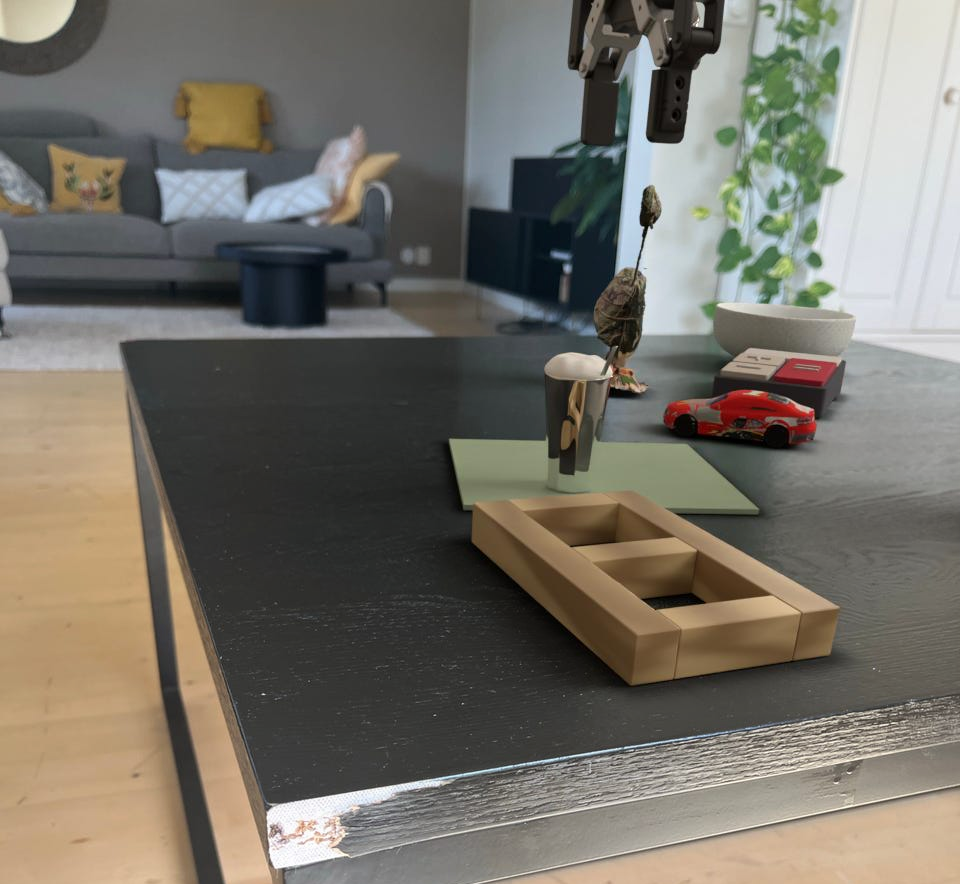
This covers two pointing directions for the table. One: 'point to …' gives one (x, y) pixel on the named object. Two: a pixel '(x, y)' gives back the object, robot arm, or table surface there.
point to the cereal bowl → (782, 328)
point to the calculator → (784, 377)
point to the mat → (597, 475)
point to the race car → (744, 417)
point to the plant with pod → (626, 306)
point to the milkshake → (575, 418)
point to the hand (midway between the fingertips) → (628, 144)
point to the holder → (651, 586)
